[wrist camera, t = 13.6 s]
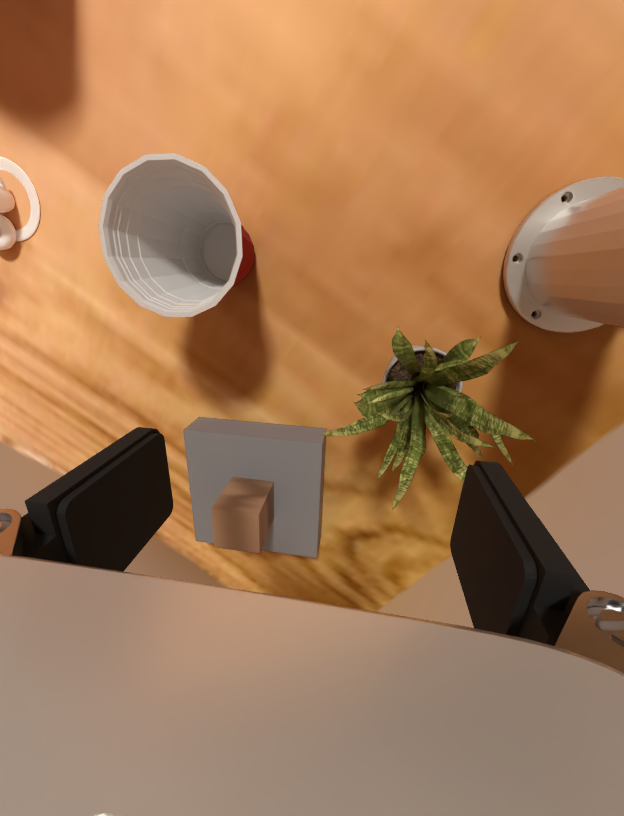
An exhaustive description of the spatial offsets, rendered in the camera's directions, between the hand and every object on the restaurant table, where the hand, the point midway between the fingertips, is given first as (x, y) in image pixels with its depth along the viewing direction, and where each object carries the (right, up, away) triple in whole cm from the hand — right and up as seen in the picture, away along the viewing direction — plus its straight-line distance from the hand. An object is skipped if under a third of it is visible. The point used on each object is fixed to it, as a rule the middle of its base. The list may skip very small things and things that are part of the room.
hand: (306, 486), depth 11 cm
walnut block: (-7, -8, +31) cm, 32 cm away
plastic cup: (-8, +19, +25) cm, 32 cm away
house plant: (+10, +6, +27) cm, 29 cm away
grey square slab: (-6, -7, +34) cm, 36 cm away
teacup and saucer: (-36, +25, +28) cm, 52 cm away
